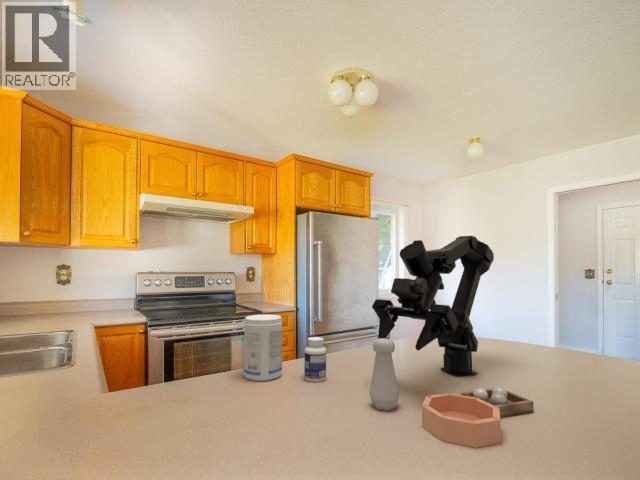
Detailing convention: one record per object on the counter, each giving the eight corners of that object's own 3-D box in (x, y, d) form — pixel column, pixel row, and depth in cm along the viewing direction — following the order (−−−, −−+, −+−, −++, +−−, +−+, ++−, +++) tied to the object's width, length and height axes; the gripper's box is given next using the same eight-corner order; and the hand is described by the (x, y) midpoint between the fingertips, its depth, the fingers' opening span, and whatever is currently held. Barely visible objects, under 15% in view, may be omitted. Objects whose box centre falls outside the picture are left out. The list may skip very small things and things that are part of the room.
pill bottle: (303, 375, 85) (304, 336, 86) (324, 375, 86) (325, 336, 87) (304, 382, 80) (305, 340, 81) (327, 382, 81) (327, 340, 81)
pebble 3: (498, 404, 67) (498, 389, 67) (510, 410, 64) (510, 394, 64) (487, 406, 66) (487, 391, 66) (499, 411, 63) (498, 396, 63)
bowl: (463, 409, 65) (463, 391, 66) (518, 439, 54) (517, 416, 54) (410, 417, 62) (410, 398, 62) (456, 451, 50) (456, 427, 51)
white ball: (499, 397, 70) (499, 384, 70) (511, 403, 67) (510, 388, 68) (489, 399, 69) (488, 385, 69) (500, 404, 67) (499, 390, 67)
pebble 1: (480, 399, 69) (480, 385, 69) (491, 404, 67) (491, 389, 67) (469, 400, 68) (469, 386, 69) (480, 406, 66) (480, 391, 66)
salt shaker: (397, 401, 69) (397, 336, 70) (401, 413, 63) (400, 342, 65) (368, 400, 70) (368, 336, 71) (370, 411, 64) (370, 342, 65)
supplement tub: (277, 368, 91) (278, 313, 92) (286, 379, 82) (287, 318, 83) (240, 372, 88) (242, 314, 89) (245, 384, 79) (247, 320, 80)
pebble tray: (499, 397, 72) (499, 387, 72) (533, 412, 64) (533, 401, 65) (461, 402, 69) (461, 392, 69) (492, 419, 61) (492, 408, 61)
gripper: (376, 265, 83) (346, 315, 74) (450, 265, 69) (423, 326, 61) (395, 296, 87) (368, 346, 79) (467, 302, 74) (444, 363, 65)
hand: (397, 345), depth 71 cm, fingers open, 9 cm apart
